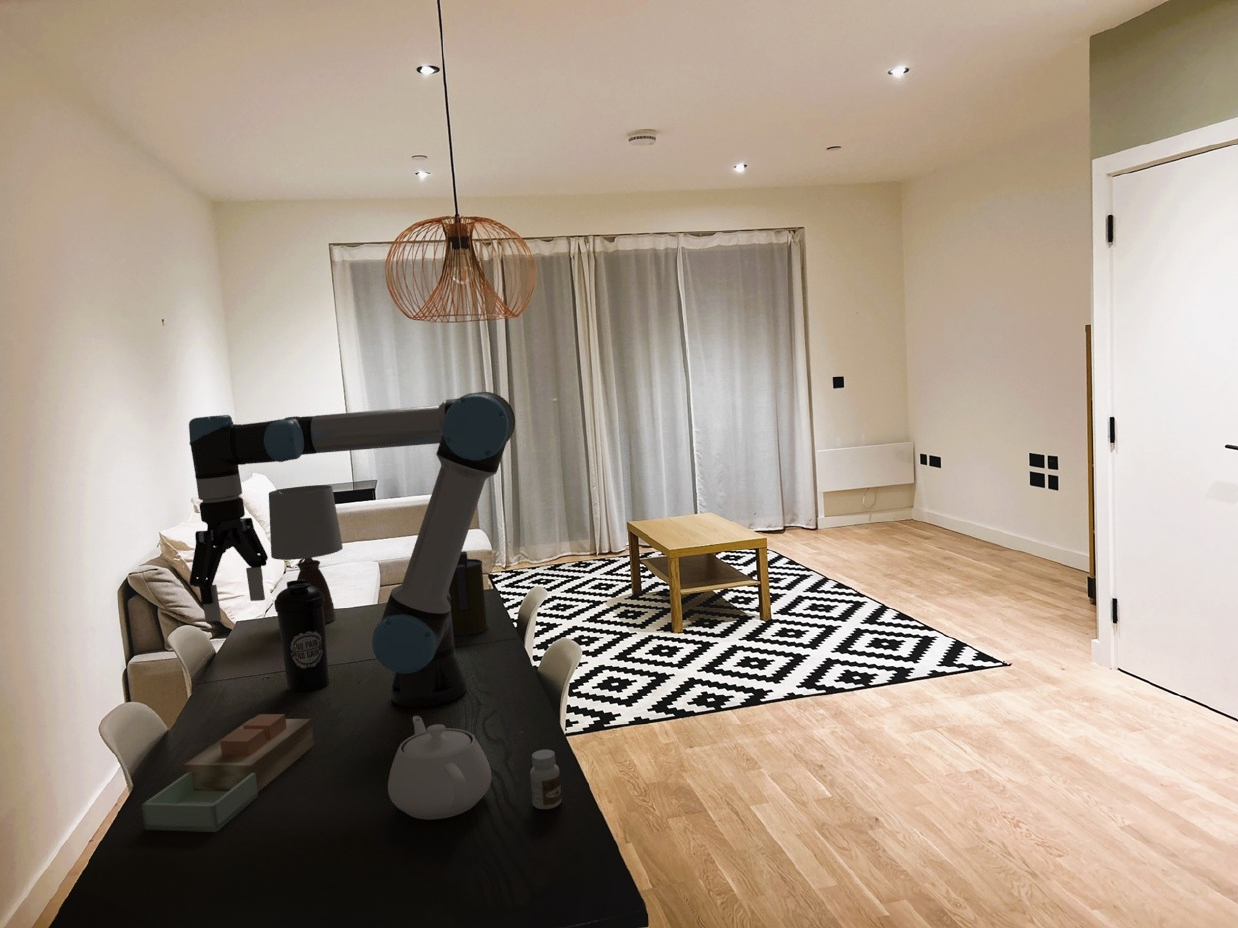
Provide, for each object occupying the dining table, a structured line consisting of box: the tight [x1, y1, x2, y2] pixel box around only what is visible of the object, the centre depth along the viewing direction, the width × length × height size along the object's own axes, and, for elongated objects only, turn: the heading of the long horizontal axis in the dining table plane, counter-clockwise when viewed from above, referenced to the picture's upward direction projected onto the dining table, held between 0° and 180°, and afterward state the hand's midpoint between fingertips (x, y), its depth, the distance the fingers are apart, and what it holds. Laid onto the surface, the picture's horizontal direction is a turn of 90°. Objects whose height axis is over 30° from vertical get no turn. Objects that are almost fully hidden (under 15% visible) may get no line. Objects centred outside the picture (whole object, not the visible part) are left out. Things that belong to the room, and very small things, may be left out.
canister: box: [449, 550, 489, 637], centre depth 233 cm, size 11×10×20 cm
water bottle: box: [274, 579, 330, 694], centre depth 198 cm, size 10×10×23 cm
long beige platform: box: [183, 718, 315, 793], centre depth 157 cm, size 12×19×5 cm, turn 170°
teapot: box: [387, 715, 492, 821], centre depth 140 cm, size 25×16×12 cm, turn 27°
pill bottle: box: [529, 749, 562, 810], centre depth 137 cm, size 4×4×8 cm
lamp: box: [268, 484, 344, 625], centre depth 251 cm, size 19×19×37 cm
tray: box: [141, 772, 259, 833], centre depth 142 cm, size 12×11×4 cm
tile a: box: [242, 713, 287, 740], centre depth 160 cm, size 5×5×2 cm
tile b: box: [220, 728, 266, 756], centre depth 153 cm, size 5×5×2 cm
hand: (236, 610), depth 172 cm, fingers open, 13 cm apart
